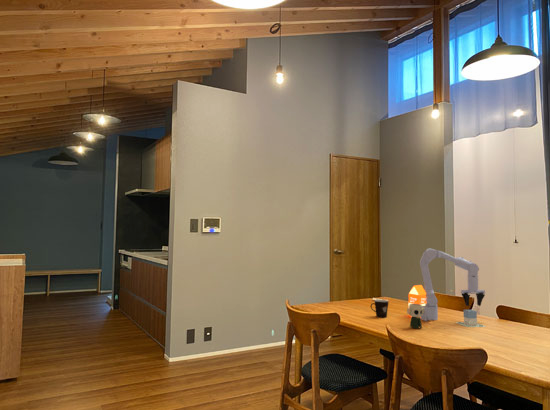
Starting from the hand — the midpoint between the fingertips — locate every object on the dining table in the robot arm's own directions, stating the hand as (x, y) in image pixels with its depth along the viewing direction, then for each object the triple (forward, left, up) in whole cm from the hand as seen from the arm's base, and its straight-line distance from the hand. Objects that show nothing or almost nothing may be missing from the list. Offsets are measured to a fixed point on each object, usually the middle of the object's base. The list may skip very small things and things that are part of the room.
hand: (473, 305), depth 249 cm
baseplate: (-7, -8, -10) cm, 15 cm away
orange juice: (-25, +21, -11) cm, 34 cm away
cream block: (-7, -8, -9) cm, 14 cm away
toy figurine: (-42, -11, -11) cm, 45 cm away
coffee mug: (-51, +21, -11) cm, 56 cm away
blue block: (-7, -8, -5) cm, 12 cm away
